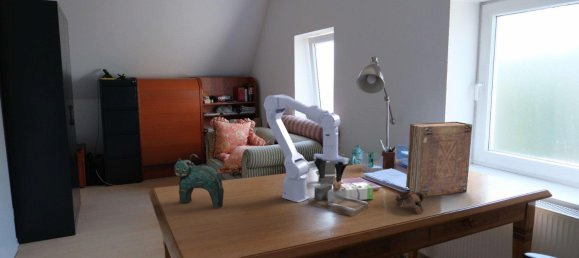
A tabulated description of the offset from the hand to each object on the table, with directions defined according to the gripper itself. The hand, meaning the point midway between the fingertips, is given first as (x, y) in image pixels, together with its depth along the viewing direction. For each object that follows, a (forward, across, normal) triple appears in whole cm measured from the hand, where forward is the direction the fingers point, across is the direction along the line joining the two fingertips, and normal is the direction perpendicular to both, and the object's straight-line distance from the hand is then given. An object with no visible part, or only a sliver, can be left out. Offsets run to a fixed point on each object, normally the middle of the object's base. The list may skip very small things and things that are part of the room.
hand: (330, 179), depth 148 cm
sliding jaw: (+9, -2, -2) cm, 9 cm away
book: (+11, -25, -46) cm, 54 cm away
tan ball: (+7, +1, -2) cm, 7 cm away
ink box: (+8, -6, -20) cm, 23 cm away
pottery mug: (+11, -26, -17) cm, 33 cm away
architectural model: (+11, +18, -24) cm, 32 cm away
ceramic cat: (+10, +39, +32) cm, 52 cm away
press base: (+10, -2, -2) cm, 11 cm away
